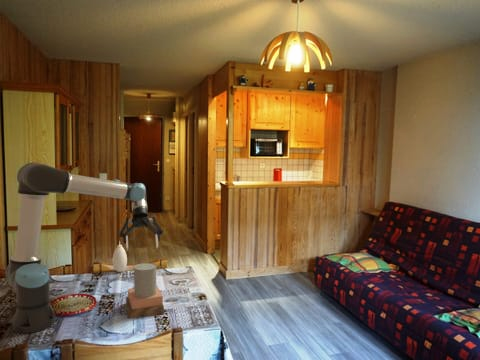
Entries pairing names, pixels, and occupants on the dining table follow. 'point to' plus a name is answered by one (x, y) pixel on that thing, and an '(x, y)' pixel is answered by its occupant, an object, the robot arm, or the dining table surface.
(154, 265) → the grey cylinder
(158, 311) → the tower base
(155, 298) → the brown square block
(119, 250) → the cream ovoid candle
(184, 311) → the dining table surface
